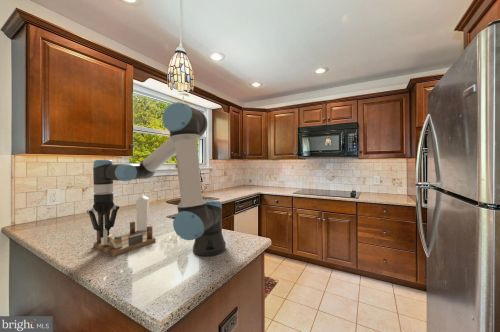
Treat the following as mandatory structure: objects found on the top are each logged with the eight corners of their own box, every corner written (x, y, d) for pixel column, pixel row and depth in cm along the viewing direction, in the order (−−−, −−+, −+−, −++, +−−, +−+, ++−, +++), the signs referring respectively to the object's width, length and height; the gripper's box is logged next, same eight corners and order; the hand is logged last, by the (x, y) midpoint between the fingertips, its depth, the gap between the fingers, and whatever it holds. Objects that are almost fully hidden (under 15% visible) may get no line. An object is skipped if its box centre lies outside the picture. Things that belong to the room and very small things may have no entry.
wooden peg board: (155, 241, 109) (155, 226, 109) (114, 256, 92) (114, 237, 92) (134, 235, 120) (134, 221, 120) (93, 246, 103) (93, 230, 103)
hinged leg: (122, 246, 97) (122, 236, 97) (116, 248, 94) (116, 238, 94) (109, 241, 103) (109, 232, 103) (102, 243, 101) (102, 233, 101)
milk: (136, 231, 127) (135, 194, 127) (139, 228, 133) (139, 193, 133) (147, 230, 128) (146, 194, 128) (149, 227, 134) (149, 193, 134)
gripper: (114, 191, 105) (115, 238, 105) (83, 194, 94) (83, 246, 94) (122, 192, 101) (123, 240, 101) (90, 195, 90) (91, 250, 90)
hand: (104, 243), depth 98 cm, fingers closed
